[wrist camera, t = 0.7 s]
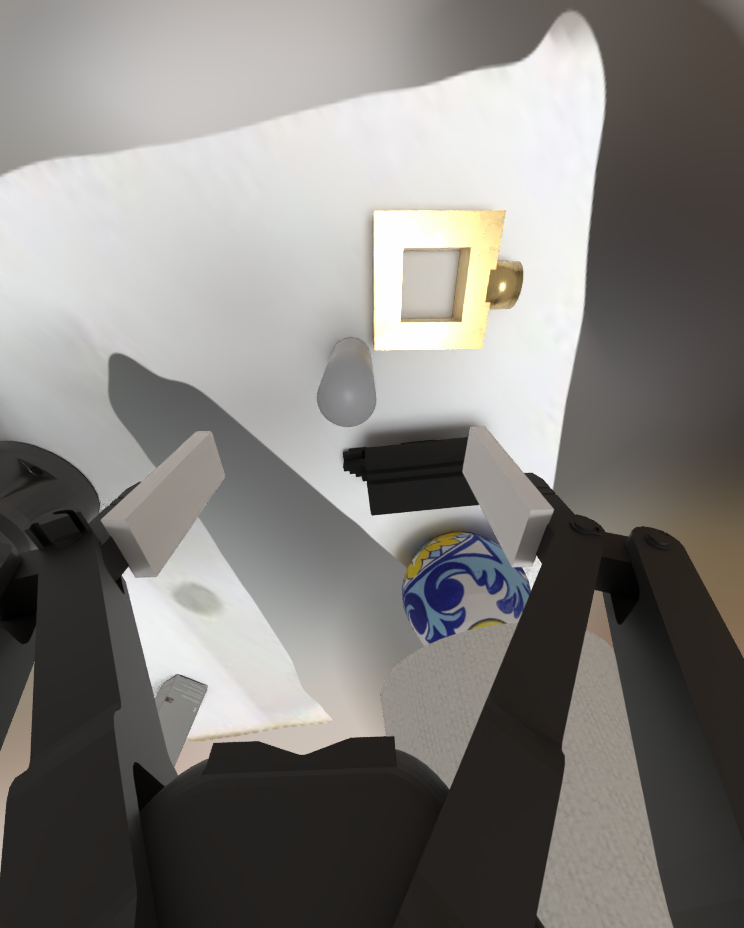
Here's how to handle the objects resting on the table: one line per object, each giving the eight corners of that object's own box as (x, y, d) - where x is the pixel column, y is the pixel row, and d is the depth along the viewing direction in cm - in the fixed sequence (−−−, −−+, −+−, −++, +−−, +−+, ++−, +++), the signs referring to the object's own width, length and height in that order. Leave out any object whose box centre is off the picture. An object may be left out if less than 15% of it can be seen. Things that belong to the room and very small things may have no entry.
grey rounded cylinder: (333, 377, 36) (319, 427, 24) (330, 337, 34) (313, 370, 22) (371, 377, 36) (376, 426, 24) (370, 337, 34) (376, 369, 22)
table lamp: (442, 469, 43) (761, 1212, 9) (567, 541, 51) (985, 1072, 17) (344, 579, 54) (317, 1091, 20) (460, 624, 63) (580, 1042, 28)
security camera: (340, 433, 40) (335, 476, 31) (484, 418, 39) (518, 457, 31) (348, 478, 43) (345, 527, 35) (479, 464, 43) (509, 510, 34)
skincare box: (209, 685, 72) (174, 779, 59) (191, 695, 75) (154, 788, 61) (176, 672, 69) (130, 769, 55) (159, 683, 71) (111, 779, 57)
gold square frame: (373, 343, 34) (375, 351, 31) (372, 218, 28) (374, 209, 25) (493, 342, 34) (508, 349, 31) (517, 217, 29) (538, 209, 25)
